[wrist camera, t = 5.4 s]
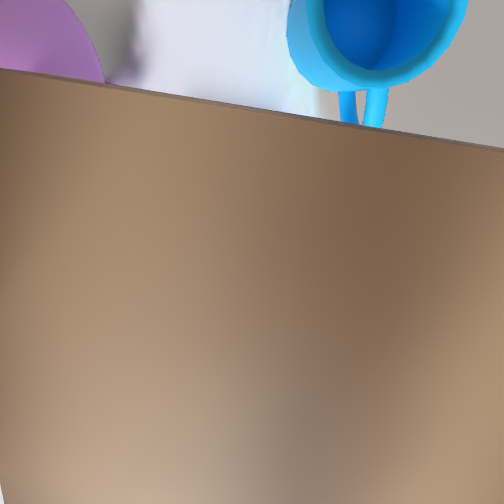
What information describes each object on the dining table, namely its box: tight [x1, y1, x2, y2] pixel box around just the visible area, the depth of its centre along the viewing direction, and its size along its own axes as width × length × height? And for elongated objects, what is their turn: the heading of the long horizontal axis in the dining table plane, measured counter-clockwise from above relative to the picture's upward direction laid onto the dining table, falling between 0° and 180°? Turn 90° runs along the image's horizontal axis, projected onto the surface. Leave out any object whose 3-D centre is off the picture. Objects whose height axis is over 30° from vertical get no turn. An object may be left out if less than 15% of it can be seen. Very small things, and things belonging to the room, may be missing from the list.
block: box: [0, 68, 504, 504], centre depth 8 cm, size 11×11×3 cm
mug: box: [286, 0, 468, 128], centre depth 22 cm, size 12×8×8 cm
